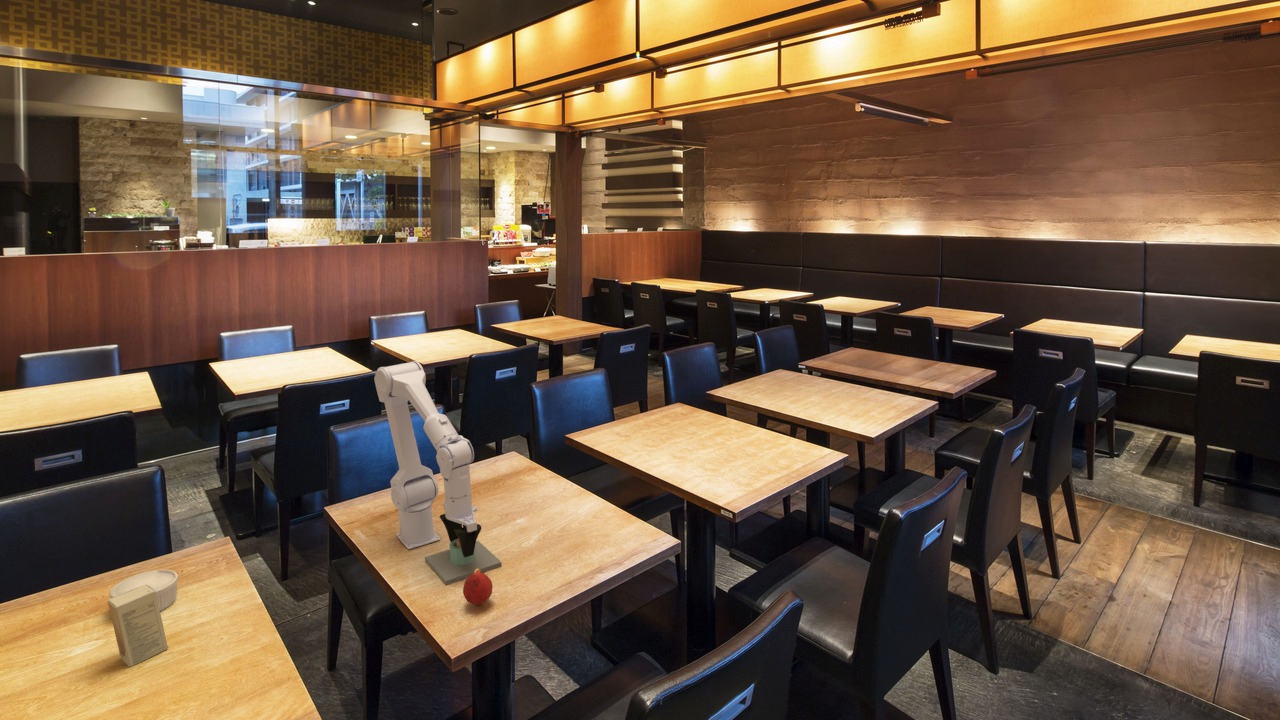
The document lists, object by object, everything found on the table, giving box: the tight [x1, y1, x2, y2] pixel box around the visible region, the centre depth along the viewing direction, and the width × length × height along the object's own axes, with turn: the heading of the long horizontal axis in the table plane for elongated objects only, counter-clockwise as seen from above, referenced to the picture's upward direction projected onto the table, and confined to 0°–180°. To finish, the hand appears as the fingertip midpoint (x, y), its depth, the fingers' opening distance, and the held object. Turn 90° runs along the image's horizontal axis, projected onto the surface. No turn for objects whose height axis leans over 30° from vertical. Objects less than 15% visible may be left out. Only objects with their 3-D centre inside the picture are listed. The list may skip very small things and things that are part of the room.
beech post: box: [456, 538, 461, 548], centre depth 150 cm, size 2×2×5 cm
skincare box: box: [107, 584, 169, 668], centre depth 119 cm, size 6×4×12 cm
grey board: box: [424, 540, 503, 586], centre depth 151 cm, size 13×13×1 cm
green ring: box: [448, 539, 475, 566], centre depth 150 cm, size 5×5×4 cm
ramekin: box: [109, 569, 179, 612], centre depth 135 cm, size 11×11×5 cm
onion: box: [462, 569, 493, 607], centre depth 134 cm, size 6×6×8 cm
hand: (462, 549), depth 150 cm, fingers open, 7 cm apart
